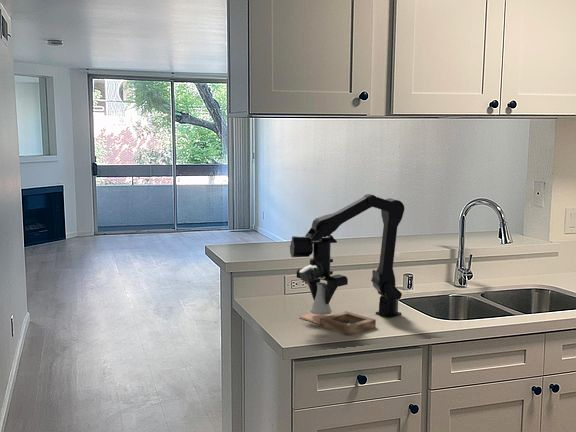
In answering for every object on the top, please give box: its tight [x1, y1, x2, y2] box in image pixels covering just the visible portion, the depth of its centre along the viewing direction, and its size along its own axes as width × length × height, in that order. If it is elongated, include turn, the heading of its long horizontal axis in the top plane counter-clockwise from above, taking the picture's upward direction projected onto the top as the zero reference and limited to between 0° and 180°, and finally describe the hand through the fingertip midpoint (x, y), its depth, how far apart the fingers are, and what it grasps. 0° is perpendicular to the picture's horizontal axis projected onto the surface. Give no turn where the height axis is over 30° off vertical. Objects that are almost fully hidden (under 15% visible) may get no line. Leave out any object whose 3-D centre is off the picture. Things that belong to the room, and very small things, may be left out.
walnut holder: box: [319, 311, 377, 336], centre depth 196 cm, size 13×13×2 cm
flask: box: [310, 281, 333, 315], centre depth 204 cm, size 7×7×10 cm
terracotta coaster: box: [299, 312, 334, 325], centre depth 205 cm, size 10×10×1 cm
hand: (321, 302), depth 204 cm, fingers closed on flask, 5 cm apart
